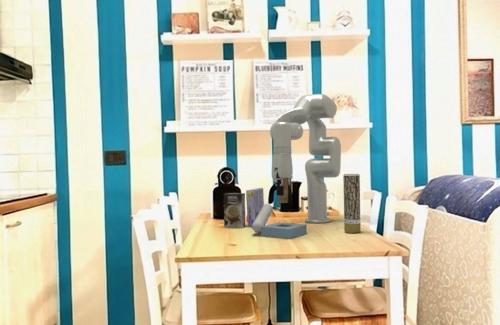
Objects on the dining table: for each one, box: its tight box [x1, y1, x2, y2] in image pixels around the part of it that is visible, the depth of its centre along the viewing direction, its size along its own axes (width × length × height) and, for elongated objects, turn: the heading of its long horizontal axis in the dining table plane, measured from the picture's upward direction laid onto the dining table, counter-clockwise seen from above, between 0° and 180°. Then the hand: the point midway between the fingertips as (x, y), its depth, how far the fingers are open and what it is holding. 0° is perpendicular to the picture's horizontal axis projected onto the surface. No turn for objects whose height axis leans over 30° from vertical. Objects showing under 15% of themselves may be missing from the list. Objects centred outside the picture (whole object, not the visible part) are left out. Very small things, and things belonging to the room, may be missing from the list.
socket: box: [260, 221, 308, 240], centre depth 195 cm, size 14×14×4 cm
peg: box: [278, 177, 289, 204], centre depth 194 cm, size 4×4×12 cm
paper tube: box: [342, 173, 362, 234], centre depth 198 cm, size 7×7×25 cm
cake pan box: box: [245, 187, 265, 228], centre depth 226 cm, size 19×5×18 cm, turn 165°
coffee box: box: [223, 192, 246, 229], centre depth 219 cm, size 9×6×16 cm
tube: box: [251, 203, 274, 234], centre depth 205 cm, size 5×5×25 cm
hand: (283, 194), depth 194 cm, fingers closed on peg, 4 cm apart
